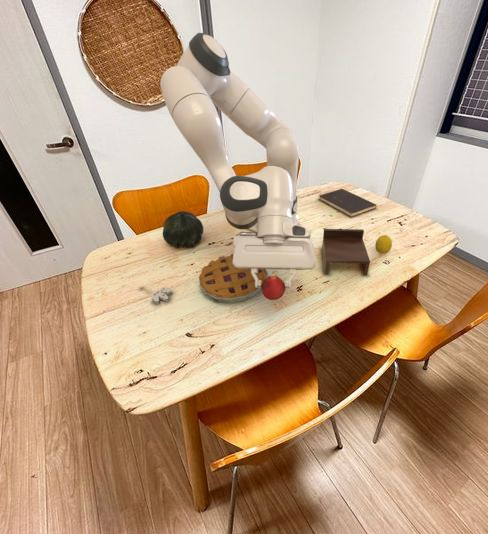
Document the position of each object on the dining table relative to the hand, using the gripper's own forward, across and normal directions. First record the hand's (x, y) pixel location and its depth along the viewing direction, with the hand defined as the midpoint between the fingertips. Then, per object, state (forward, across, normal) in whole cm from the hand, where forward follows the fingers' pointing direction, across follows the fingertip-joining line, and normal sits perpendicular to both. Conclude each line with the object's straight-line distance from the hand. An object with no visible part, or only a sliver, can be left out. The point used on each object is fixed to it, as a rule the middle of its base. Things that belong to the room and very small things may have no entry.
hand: (273, 287), depth 67 cm
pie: (-2, -15, +23) cm, 27 cm away
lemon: (-15, +37, +36) cm, 54 cm away
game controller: (+2, -38, +18) cm, 43 cm away
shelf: (-11, +22, +32) cm, 41 cm away
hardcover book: (-44, +30, +66) cm, 85 cm away
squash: (-19, -38, +39) cm, 58 cm away
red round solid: (+3, 0, +4) cm, 5 cm away
